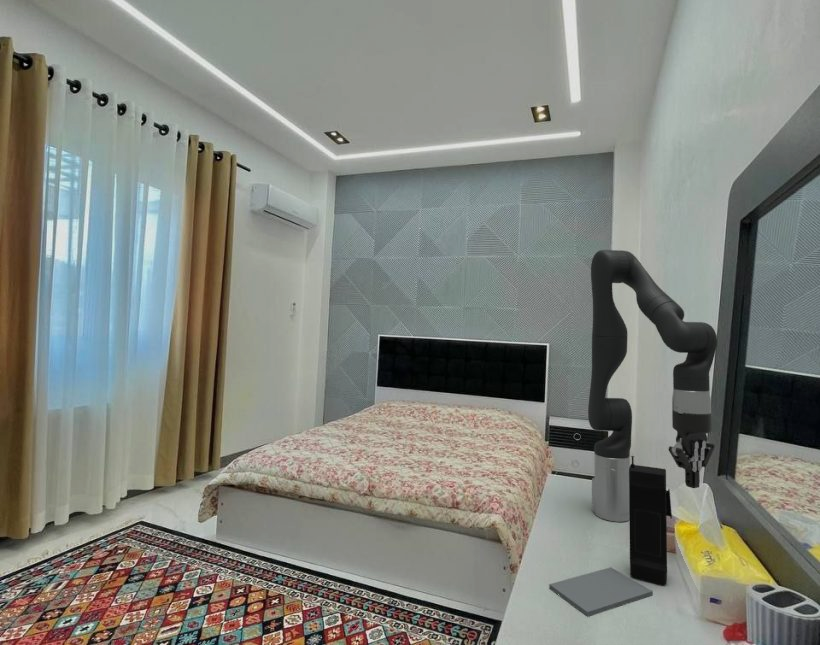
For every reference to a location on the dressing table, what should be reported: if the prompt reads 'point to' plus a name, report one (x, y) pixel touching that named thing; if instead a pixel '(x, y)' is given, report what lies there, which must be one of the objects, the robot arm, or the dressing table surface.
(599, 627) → the dressing table surface
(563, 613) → the dressing table surface
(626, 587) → the charcoal pad
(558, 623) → the dressing table surface
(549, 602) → the dressing table surface
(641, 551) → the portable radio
